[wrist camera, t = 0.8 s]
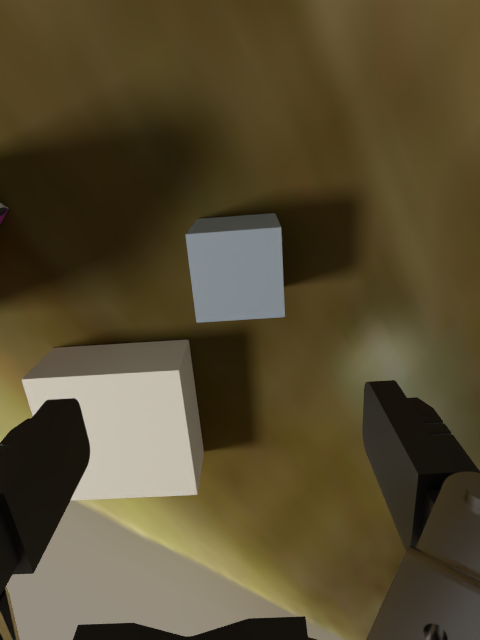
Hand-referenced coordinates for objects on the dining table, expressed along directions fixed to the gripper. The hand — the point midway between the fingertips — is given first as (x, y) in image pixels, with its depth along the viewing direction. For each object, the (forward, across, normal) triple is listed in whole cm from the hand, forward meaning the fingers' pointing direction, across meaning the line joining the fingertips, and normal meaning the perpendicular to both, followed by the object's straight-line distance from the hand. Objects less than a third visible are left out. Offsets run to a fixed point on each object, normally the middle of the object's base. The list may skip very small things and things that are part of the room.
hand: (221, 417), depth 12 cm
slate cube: (+20, 0, 0) cm, 20 cm away
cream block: (+20, +10, +12) cm, 25 cm away
